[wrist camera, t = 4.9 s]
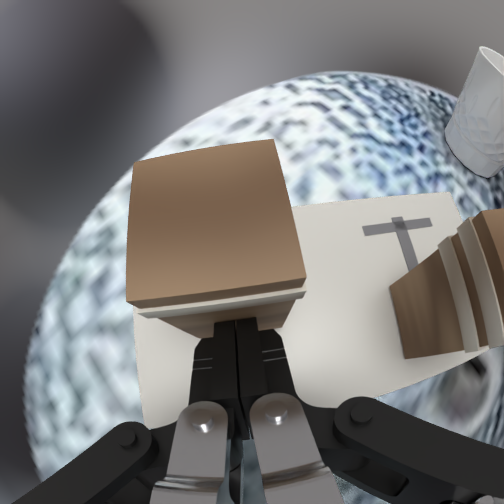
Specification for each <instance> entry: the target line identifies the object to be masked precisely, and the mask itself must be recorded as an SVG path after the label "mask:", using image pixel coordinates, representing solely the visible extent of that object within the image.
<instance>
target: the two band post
mask: <svg viewBox="0 0 504 504" xmlns="http://www.w3.org/2000/svg"><path fill="white" fill-rule="evenodd" d="M456 229H457V233H456V234H455V235H451V236H447V237H446V238H445V239H444V240H443V241H442V242H440V243H439V244H438V245H437V246H438V249H437V250H436V251H435V252H434V253H432V254H431V255H430V256H429V257H427V258H426V259H425V260H423V261H422V262H421V263H420V264H418V265H417V266H416V267H414V268H413V269H412V270H411V271H409V272H408V273H407V274H405V275H404V276H403V277H401V278H400V279H399V280H397V281H396V282H394V283H393V284H392V285H390V286H389V287H390V291H391V295H392V299H393V303H394V307H395V311H396V316H397V320H398V325H399V329H400V334H401V339H402V344H403V350H404V355H405V359H412V358H420V357H427V356H434V355H440V354H446V353H452V352H458V351H463V350H465V353H469V352H475V351H479V350H481V349H483V348H485V347H487V346H489V349H490V348H494V347H499V346H503V345H504V208H502V209H494V210H485V211H481V212H480V213H479V214H478V215H476V216H475V217H469V218H467V219H466V220H465V221H464V222H463V223H462V224H461V225H460V226H459V227H458V228H456Z"/></svg>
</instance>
